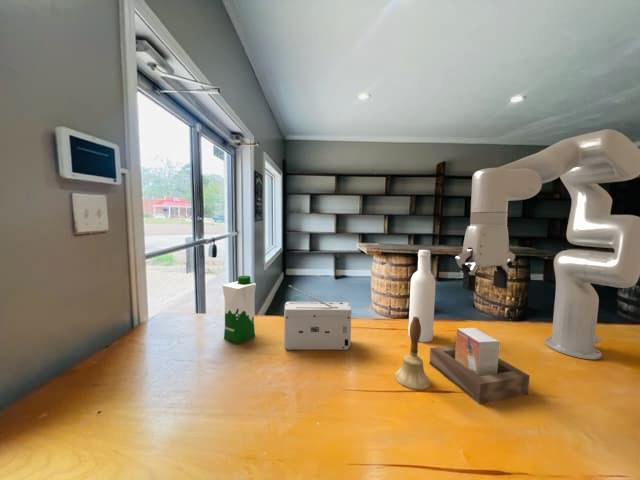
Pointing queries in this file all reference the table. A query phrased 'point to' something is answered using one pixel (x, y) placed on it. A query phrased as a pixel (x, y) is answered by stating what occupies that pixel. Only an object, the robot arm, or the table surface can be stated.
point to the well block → (480, 377)
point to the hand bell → (413, 363)
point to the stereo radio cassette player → (317, 325)
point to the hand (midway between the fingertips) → (484, 288)
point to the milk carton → (239, 310)
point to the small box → (477, 351)
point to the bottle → (423, 297)
